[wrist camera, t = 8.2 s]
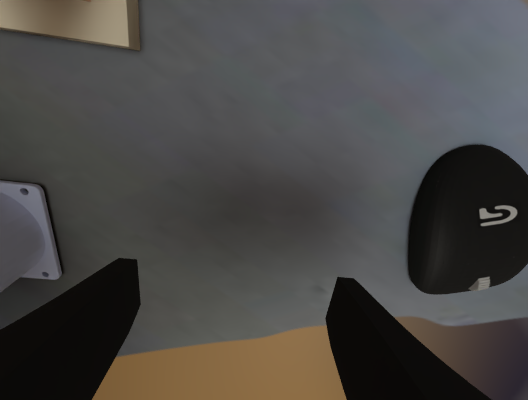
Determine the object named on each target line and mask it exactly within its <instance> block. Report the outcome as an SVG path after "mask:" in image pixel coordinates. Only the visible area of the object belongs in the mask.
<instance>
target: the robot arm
mask: <svg viewBox="0 0 528 400" xmlns="http://www.w3.org/2000/svg"><path fill="white" fill-rule="evenodd" d="M25 189H27V190H28V192H29V193H28V192H27V191H26V190H25ZM61 275H62V271H61V267H60V262H59V258H58V253H57V249H56V244H55V240H54V235H53V231H52V226H51V222H50V217H49V213H48V208H47V204H46V199H45V195H44V191H43V189H42V188H41V186H39V185H37V184H31V183H21V182H12V181H2V180H0V293H1V292H2V291H3V290H4V289H6V288H7V287H8V286H9V285H11V284H12V283H13V282H14V281H16V280H17V279H18V278H20V277H25V278H38V279H50V280H56V279H58V278H59V277H60V276H61ZM140 305H141V303H140V291H139V278H138V266H137V260H136V259H124V258H118V259H117V260H115V261H113V262H112V263H110V264H108V265H107V266H105V267H104V268H102V269H101V270H99V271H97V272H96V273H94V274H93V275H91V276H90V277H88V278H87V279H85V280H83V281H82V282H80V283H79V284H77V285H76V286H74V287H72V288H71V289H69V290H68V291H66V292H64V293H63V294H61V295H60V296H58V297H56V298H55V299H53V300H51V301H50V302H48V303H46V304H44V305H43V306H41V307H39V308H38V309H36V310H34V311H33V312H31V313H29V314H27V315H26V316H24V317H22V318H21V319H19V320H17V321H15V322H14V323H12V324H10V325H8V326H6V327H5V328H3V329H1V330H0V400H92V398H93V396H94V395H95V393H96V391H97V389H98V388H99V386H100V384H101V382H102V380H103V379H104V377H105V375H106V373H107V371H108V370H109V368H110V366H111V364H112V363H113V361H114V359H115V357H116V355H117V354H118V352H119V350H120V348H121V346H122V345H123V343H124V341H125V339H126V337H127V335H128V333H129V331H130V329H131V327H132V324H133V322H134V320H135V317H136V315H137V312H138V310H139V307H140ZM326 324H327V330H328V336H329V341H330V346H331V349H332V353H333V356H334V359H335V363H336V366H337V370H338V373H339V376H340V379H341V383H342V386H343V389H344V392H345V395H346V399H347V400H491V399H490V398H489V397H487V396H486V395H484V394H483V393H482V392H481V391H479V390H478V389H477V388H475V387H474V386H473V385H471V384H470V383H469V382H468V381H466V380H465V379H464V378H463V377H461V376H460V375H459V374H458V373H456V372H455V371H454V370H452V369H451V368H450V367H449V366H447V365H446V364H445V363H444V362H443V361H441V360H440V359H439V358H438V357H437V356H435V355H434V354H433V353H432V352H431V351H430V350H429V349H428V348H427V347H425V346H424V345H423V344H422V343H421V342H420V341H419V340H417V339H416V338H415V337H414V336H413V335H412V334H411V333H410V332H408V330H406V329H405V328H404V327H403V326H402V325H401V324H400V323H399V322H398V321H397V320H396V319H395V318H394V317H393V316H392V315H391V314H390V313H389V312H388V311H387V310H386V309H385V308H384V307H383V306H382V305H381V304H380V303H378V302H377V301H376V300H375V299H374V298H373V297H372V296H371V295H370V294H369V293H368V292H367V291H366V290H365V289H364V288H363V287H362V286H361V285H360V284H359V283H358V282H357V281H356V280H355V279H354V278H343V277H337V281H336V284H335V288H334V291H333V294H332V298H331V301H330V305H329V308H328V311H327V315H326Z"/></svg>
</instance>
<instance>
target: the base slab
mask: <svg viewBox="0 0 528 400" xmlns="http://www.w3.org/2000/svg"><path fill="white" fill-rule="evenodd" d="M0 30H7V31H13V32H20V33H26V34H33V35H40V36H46V37H53V38H59V39H66V40H72V41H79V42H85V43H92V44H98V45H105V46H112V47H118V48H125V49H131V50H138V51H140V34H139V12H138V0H91V2H88V1H83V0H0Z"/></svg>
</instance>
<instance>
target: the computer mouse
mask: <svg viewBox="0 0 528 400" xmlns="http://www.w3.org/2000/svg"><path fill="white" fill-rule="evenodd" d="M527 263H528V175H527V174H526V172H525V171H524V170H523V169H522V167H521V166H520V165H519V164H517V163H516V162H515V161H514V160H513V159H512V158H510V157H509V156H508V155H506V154H505V153H503V152H502V151H500V150H498V149H496V148H493V147H491V146H486V145H470V146H465V147H461V148H458V149H456V150H453V151H451V152H449V153H447V154H445V155H444V156H443V157H441V158H440V159H439V160H437V161H436V163H435V164H434V165H433V166H432V167H431V169H430V170H429V172H428V173H427V175H426V177H425V179H424V181H423V183H422V186H421V188H420V191H419V193H418V197H417V200H416V203H415V207H414V211H413V216H412V222H411V229H410V241H409V275H410V278H411V281H412V282H413V284H414V285H415V286H416V287H417V288H418V289H419V290H420V291H422V292H424V293H427V294H450V293H458V292H465V291H477V290H484V289H487V288H489V287H492V286H496V285H499V284H501V283H504V282H506V281H508V280H510V279H511V278H513V277H514V276H515V275H517V274H518V273H519V272H520V271H521V270H522V269H523V268H524V267H525V266H526V265H527Z"/></svg>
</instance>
